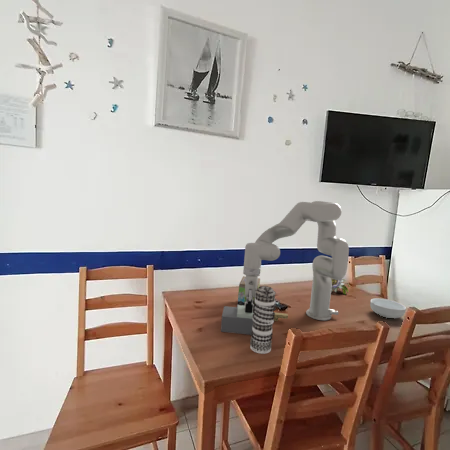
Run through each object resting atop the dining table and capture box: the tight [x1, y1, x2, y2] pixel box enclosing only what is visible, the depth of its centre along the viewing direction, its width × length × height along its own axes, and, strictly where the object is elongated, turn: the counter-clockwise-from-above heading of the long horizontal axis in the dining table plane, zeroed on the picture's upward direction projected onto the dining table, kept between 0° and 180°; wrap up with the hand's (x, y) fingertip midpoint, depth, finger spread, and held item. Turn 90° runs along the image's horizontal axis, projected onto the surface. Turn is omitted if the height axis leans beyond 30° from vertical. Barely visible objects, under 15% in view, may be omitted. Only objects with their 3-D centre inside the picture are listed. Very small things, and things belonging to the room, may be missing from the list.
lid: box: [237, 302, 255, 319], centre depth 136 cm, size 10×10×5 cm
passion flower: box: [331, 278, 350, 296], centre depth 197 cm, size 13×12×14 cm
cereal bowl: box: [369, 297, 407, 319], centre depth 162 cm, size 17×17×7 cm
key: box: [273, 311, 289, 322], centre depth 147 cm, size 11×2×3 cm, turn 85°
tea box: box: [236, 275, 261, 307], centre depth 161 cm, size 15×10×15 cm
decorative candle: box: [249, 285, 277, 355], centre depth 119 cm, size 9×9×25 cm
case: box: [220, 305, 253, 336], centre depth 136 cm, size 17×12×7 cm
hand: (248, 309), depth 136 cm, fingers closed on lid, 4 cm apart
